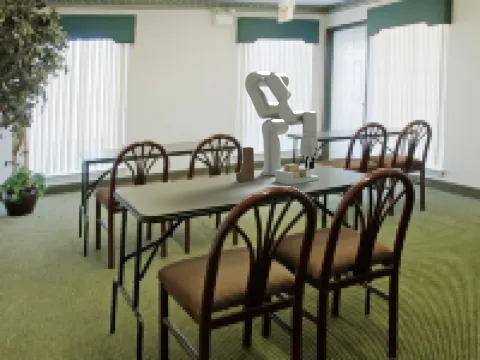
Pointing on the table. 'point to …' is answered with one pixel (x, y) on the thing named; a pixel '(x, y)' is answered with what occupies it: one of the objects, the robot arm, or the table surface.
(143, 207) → the table surface
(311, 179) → the vise base
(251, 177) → the wooden block
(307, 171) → the slide jaw
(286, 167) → the maple block
